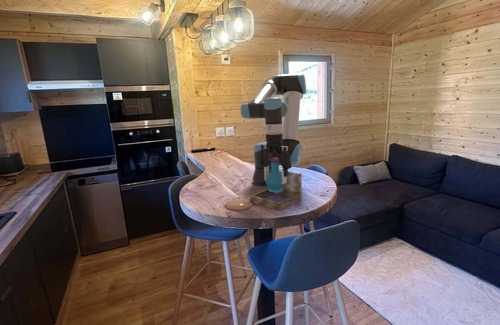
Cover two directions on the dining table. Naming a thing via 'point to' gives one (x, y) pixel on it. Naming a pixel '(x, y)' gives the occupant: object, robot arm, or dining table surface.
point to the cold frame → (282, 193)
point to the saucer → (238, 204)
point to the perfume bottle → (274, 177)
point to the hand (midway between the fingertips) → (275, 181)
